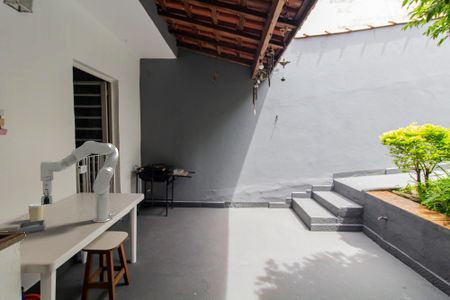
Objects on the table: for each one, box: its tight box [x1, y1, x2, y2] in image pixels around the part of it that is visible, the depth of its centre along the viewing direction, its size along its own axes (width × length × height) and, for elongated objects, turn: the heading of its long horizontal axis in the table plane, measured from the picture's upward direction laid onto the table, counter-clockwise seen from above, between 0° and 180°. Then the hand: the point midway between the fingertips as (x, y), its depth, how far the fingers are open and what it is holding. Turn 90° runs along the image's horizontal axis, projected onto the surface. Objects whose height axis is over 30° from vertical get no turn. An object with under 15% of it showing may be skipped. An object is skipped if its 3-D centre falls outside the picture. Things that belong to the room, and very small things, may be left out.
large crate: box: [16, 219, 46, 234], centre depth 163 cm, size 14×14×4 cm
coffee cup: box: [28, 202, 45, 222], centre depth 180 cm, size 9×9×12 cm
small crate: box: [40, 194, 54, 206], centre depth 172 cm, size 6×6×5 cm
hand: (47, 202), depth 172 cm, fingers closed on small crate, 6 cm apart
